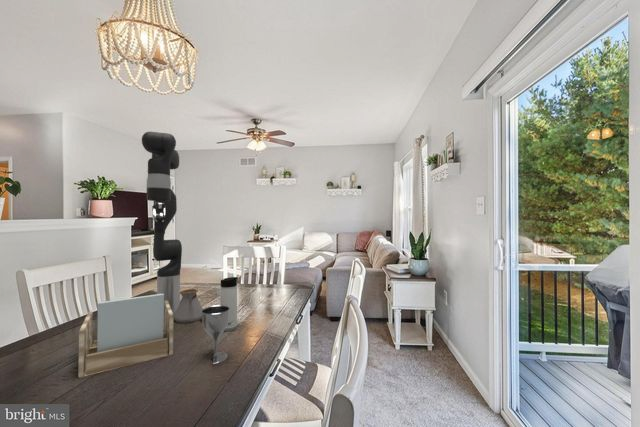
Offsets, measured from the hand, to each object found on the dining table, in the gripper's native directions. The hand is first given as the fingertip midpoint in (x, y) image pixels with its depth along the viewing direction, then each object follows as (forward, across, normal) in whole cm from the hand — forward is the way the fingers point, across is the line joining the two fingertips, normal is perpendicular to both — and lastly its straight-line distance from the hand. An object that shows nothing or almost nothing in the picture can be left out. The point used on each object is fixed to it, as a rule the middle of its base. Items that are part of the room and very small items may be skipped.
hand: (158, 232), depth 99 cm
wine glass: (+38, -26, -14) cm, 48 cm away
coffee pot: (+38, +6, -12) cm, 41 cm away
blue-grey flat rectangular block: (+37, -16, +7) cm, 41 cm away
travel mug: (+38, -5, -24) cm, 45 cm away
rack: (+38, -11, +8) cm, 40 cm away
